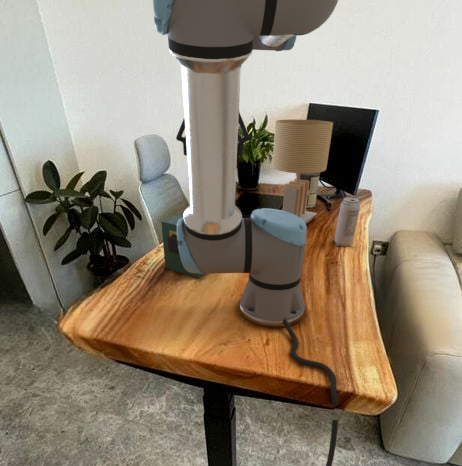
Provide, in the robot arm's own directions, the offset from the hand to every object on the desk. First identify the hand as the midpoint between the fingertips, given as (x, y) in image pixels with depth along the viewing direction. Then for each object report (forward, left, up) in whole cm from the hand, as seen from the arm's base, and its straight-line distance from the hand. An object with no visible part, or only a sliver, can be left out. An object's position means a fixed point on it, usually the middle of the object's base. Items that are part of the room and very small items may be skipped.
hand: (213, 167), depth 102 cm
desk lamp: (+32, -27, -25) cm, 49 cm away
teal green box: (-15, +5, -25) cm, 30 cm away
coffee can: (+56, -33, -25) cm, 69 cm away
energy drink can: (+11, -43, -25) cm, 51 cm away
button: (-18, +7, -18) cm, 27 cm away
